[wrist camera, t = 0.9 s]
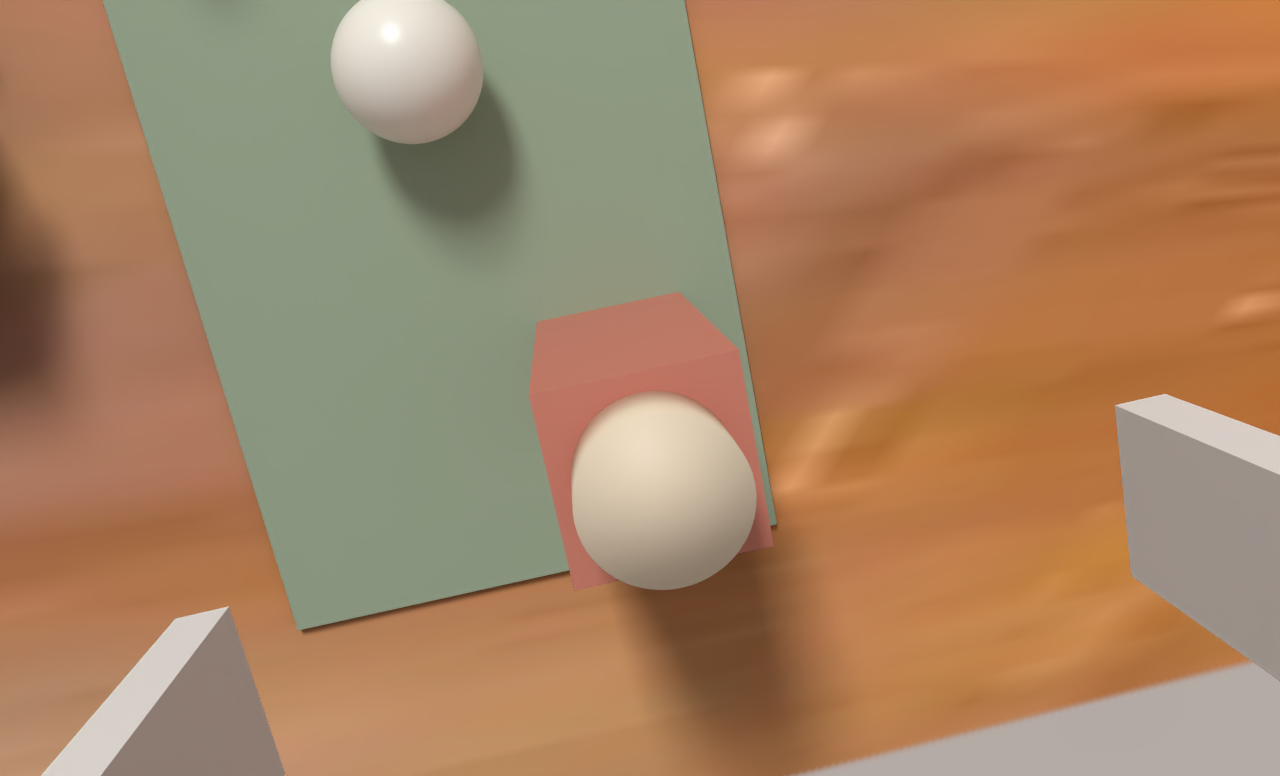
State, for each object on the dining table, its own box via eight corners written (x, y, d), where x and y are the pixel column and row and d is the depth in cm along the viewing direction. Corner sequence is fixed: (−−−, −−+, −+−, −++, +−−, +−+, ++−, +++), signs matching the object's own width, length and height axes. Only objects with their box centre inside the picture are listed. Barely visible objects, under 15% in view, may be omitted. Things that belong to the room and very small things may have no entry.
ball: (368, 158, 28) (338, 156, 24) (331, 16, 27) (294, -10, 24) (502, 131, 29) (493, 124, 25) (470, -12, 28) (456, -41, 24)
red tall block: (568, 458, 31) (576, 633, 19) (536, 321, 30) (525, 418, 18) (705, 428, 31) (796, 583, 19) (678, 291, 30) (758, 369, 18)
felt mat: (299, 627, 32) (297, 630, 31) (-85, -616, 24) (-91, -623, 23) (775, 522, 32) (776, 524, 32) (555, -723, 24) (555, -730, 24)
